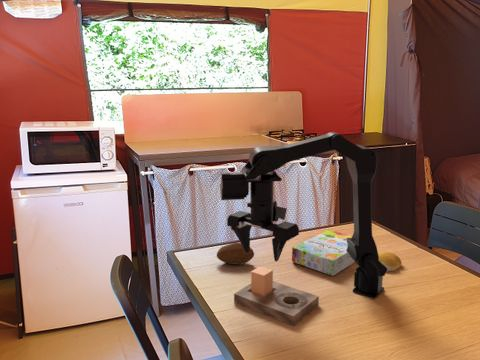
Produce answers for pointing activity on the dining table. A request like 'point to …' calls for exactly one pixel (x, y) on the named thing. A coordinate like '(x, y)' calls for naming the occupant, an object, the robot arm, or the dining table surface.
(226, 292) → the dining table surface
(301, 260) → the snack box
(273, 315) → the socket board
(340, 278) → the dining table surface
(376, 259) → the robot arm
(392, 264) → the bread roll
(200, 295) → the dining table surface
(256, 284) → the square peg
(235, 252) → the potato
